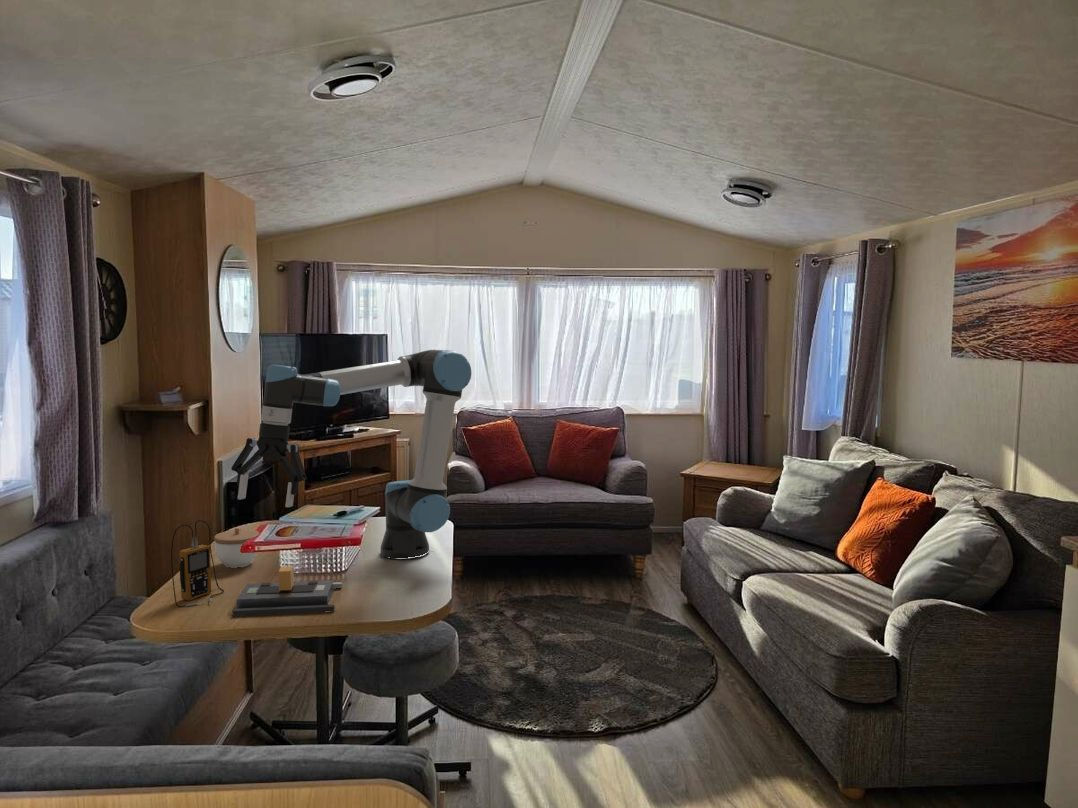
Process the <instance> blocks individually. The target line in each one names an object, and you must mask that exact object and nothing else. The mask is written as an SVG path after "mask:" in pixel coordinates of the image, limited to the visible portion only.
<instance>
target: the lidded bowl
mask: <svg viewBox="0 0 1078 808" xmlns="http://www.w3.org/2000/svg"><path fill="white" fill-rule="evenodd" d="M258 535H260V532H259V531H257V530H255V529H245V528H244V529H240V528H239V527H235V528H234V529H233V530H226V531H222V532H220V533H216V534H215V535H214V536H213V540H214V541H213V542H214V549H215V554H216V556H217V559H218V560H219V562H221V563H222V564H223V565H224V566H226V568H228V567H231V568H230V569H238V568H237V567H241V568H245V567H248V566H250V565H251V564H252V562H253V561H254V559H256V558H257V555H258V553H241V552H240V549H241V546H242V544H243V543H244V542H246V541H247V540H249V539H250V538H254V537H256V536H258Z"/></svg>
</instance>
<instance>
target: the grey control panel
mask: <svg viewBox="0 0 1078 808" xmlns="http://www.w3.org/2000/svg"><path fill="white" fill-rule="evenodd" d="M333 583H334V580H310V581H307V580H306V581H294V586H293V587H292V589H291V590H280V591H279V582H262V583H261V582H260V583H257V582H256V583H246V585H245V587H243V589H242V591H241V592H240V593H239V594H238V596H237V598H236V600H235V601H236V609H245V608H268V607H292V606H315V605H329V604H330V602H329V601H331V599H332V596H333V592H334V589H333ZM331 595H332V596H331ZM330 598H331V599H330ZM328 603H329V604H328Z"/></svg>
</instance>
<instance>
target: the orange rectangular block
mask: <svg viewBox="0 0 1078 808" xmlns="http://www.w3.org/2000/svg"><path fill="white" fill-rule="evenodd" d="M294 577H295V576H294V566H293V565H292V566H290V565H289V566H281V567H280V568H279V570H278V583H279V591H280V590H291V589H292V587H293V586H294V582H295V580H294Z"/></svg>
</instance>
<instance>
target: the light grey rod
mask: <svg viewBox="0 0 1078 808" xmlns="http://www.w3.org/2000/svg"><path fill="white" fill-rule="evenodd" d="M336 588H342V589H343V582H341V581H340V582H339V581H338V582H337V581H336V582H334V581H333V590H337V589H336Z"/></svg>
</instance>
